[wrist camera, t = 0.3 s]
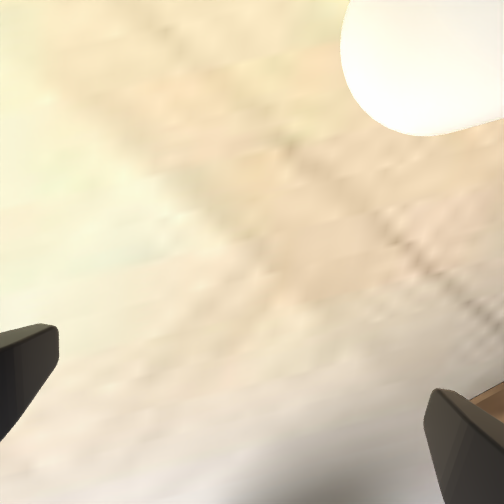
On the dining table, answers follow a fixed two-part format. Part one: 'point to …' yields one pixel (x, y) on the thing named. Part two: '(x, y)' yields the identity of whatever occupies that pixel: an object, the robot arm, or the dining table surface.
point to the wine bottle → (425, 62)
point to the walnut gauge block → (492, 401)
